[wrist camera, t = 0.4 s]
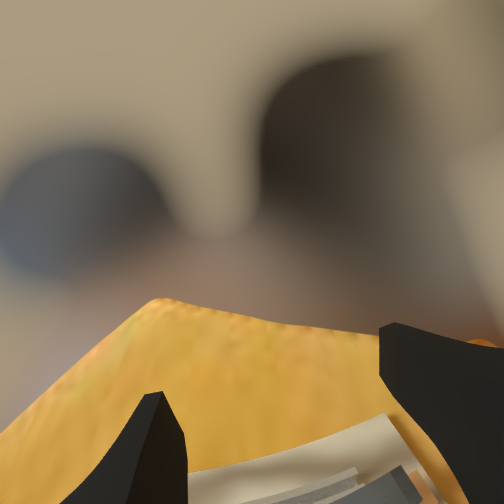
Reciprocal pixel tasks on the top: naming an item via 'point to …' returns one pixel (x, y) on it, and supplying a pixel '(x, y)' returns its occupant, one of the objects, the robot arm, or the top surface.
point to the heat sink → (317, 491)
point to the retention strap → (385, 491)
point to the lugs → (422, 488)
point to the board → (310, 465)
